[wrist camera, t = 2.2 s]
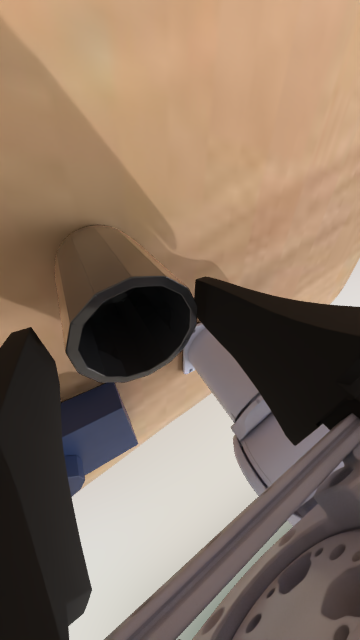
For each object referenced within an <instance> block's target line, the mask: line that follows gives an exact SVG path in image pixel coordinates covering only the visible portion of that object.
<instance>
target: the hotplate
mask: <svg viewBox="0 0 360 640" xmlns="http://www.w3.org/2000/svg"><path fill="white" fill-rule="evenodd" d="M61 422H62V441H63V451H64V457H65V463H66V470H67V476H68V481H69V487H70V492H71V497H72V496H73V495H74V494H75V493H77V492H78V491H79V490H80V489H81V487H82V485H83V483H84V481H85V475H86V474H88V473H90V472H91V471H93V470H95V469H97V468H98V467H100V466H102V465H103V464H105V463H107V462H109V461H110V460H112V459H114V458H115V457H117V456H119V455H120V454H122V453H124V452H126V451H127V450H129V449H131V448H132V447H134V446H136V445H137V444H138V442H137V439H136V436H135V433H134V430H133V428H132V425H131V422H130V419H129V417H128V414H127V412H126V410H125V407H124V405H123V402H122V400H121V397H120V395H119V393H118V390H117V388H116V385H115V383H105V384H103V385H101V386H98V387H96V388H94V389H92V390H89V391H87V392H85V393H82V394H80V395H78V396H76V397H73V398H71V399H69V400H66V401H64V402H62V403H61Z"/></svg>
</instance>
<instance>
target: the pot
mask: <svg viewBox="0 0 360 640" xmlns="http://www.w3.org/2000/svg"><path fill="white" fill-rule="evenodd" d="M54 275H55V282H56V289H57V296H58V303H59V310H60V317H61V324H62V331H63V338H64V345H65V352H66V354H67V356H68V358H69V359H70V361H71V363H72V364H73V366H74V367H75V369H76V371H77V372H78V373H79V374H81V375H84V376H86V377H88V378H91V379H93V380H95V381H98V382H101V383H114V382H128V381H131V380H135V379H138V378H141V377H144V376H147V375H150V374H152V373H153V372H155V371H157V370H158V369H160V368H161V367H163V366H165V365H166V364H168V363H169V362H171V361H172V360H173V359H174V358H175V357H176V356H177V355H178V354H179V353H180V352H181V350H182V349H183V348H184V347H185V346H186V345H187V343H188V341H189V339H190V337H191V335H192V333H193V332H194V330H195V328H196V322H197V309H198V307H197V304H196V302H195V300H194V298H193V296H192V294H191V292H190V290H189V288H188V287H187V286H186V285H185V284H184V283H182V282H181V281H180V280H179V279H178V278H177V277H176V276H175V275H173V274H172V273H171V272H170V271H169V270H168V269H167V268H166V267H164V266H163V265H162V264H161V263H160V262H159V261H158V260H157V259H155V258H154V257H153V256H152V255H151V254H150V253H149V252H148V251H147V250H145V249H144V248H143V247H142V246H141V245H140V244H139V243H138V242H136V241H135V240H134V239H133V238H131V237H129V236H128V235H127V234H125V233H124V232H122V231H120V230H118V229H116V228H113V227H110V226H105V225H91V226H86V227H83V228H80V229H78V230H76V231H74V232H72V233H71V234H70V235H68V236H67V237H66V238H65V239H64V240H63V242H62V243H61V244H60V246H59V248H58V250H57V253H56V256H55V272H54Z"/></svg>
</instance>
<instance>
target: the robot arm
mask: <svg viewBox="0 0 360 640" xmlns="http://www.w3.org/2000/svg"><path fill="white" fill-rule="evenodd" d="M194 300H195V302H196V304H197V307H198V309H197V317H198V319H199V320H200V321H201V323H199V324H196V328H195V330H194V332H193V333H192V335H191V337H190V339H189V341H188V343H187V345H186V346H185V347H184V348H183V373H184V374H188V373H190V372H192V371H194V370H196V371H197V372H198V374H199V375H200V377H201V378H202V379H203V381H204V382H205V383H206V385H207V386H208V388H209V389H210V390H211V392H212V393H213V394H214V396H215V397H216V398H217V400H218V401H219V402H220V404H221V405H222V406H223V408H224V409H225V411H226V412H227V413H228V415H229V416H230V417H231V419H232V420H233V422H234V424H233V425H232V426H231V429H232V431H233V432H234V433H235V436H234V438H233V444H234V452H235V456H236V459H237V461H238V464H239V466H240V468H241V470H242V472H243V474H244V475H245V477H246V479H247V481H248V482H249V484H250V485H251V486H252V488H253V489H254V491H255V492H256V493H257V494H258V496H259V497H258V498H257V499H255V500H254V501H253V502H252V503H251V504H250V505H249V506H248V507H247V508H246V509H245V510H244V511H243V512H241V513H240V514H239V515H238V516H237V517H236V518H235V519H234V520H233V521H232V522H231V523H230V524H229V525H227V526H226V527H225V528H224V529H223V530H222V531H221V532H220V533H219V534H218V535H217V536H215V537H214V538H213V539H212V540H211V541H210V542H209V543H208V544H207V545H206V546H205V547H204V548H203V549H201V550H200V551H199V552H198V553H197V554H196V555H195V556H194V557H193V558H192V559H191V560H190V561H189V562H188V563H186V564H185V565H184V566H183V567H182V568H181V569H180V570H179V571H178V572H177V573H175V574H174V575H173V576H172V577H171V578H170V579H169V580H168V581H167V582H166V583H165V584H164V585H163V586H162V587H161V588H159V589H158V590H157V591H156V592H155V593H154V594H153V595H152V596H151V597H150V598H149V599H147V600H146V601H145V602H144V603H143V604H142V605H141V606H140V607H139V608H138V609H137V610H135V611H134V613H132V614H131V615H130V616H129V617H128V618H127V619H126V620H125V621H124V622H122V623H121V625H119V626H118V627H117V628H116V629H115V630H114V631H113V632H112V633H111V634H110V635H108V636H107V637H106V638H105V639H104V640H176V638H177V637H178V636H179V635H180V634H181V633H182V632H183V631H184V630H185V629H186V628H187V627H188V626H189V625H190V624H191V623H192V621H193V620H194V619H195V618H196V617H197V616H198V615H199V614H200V613H201V612H202V610H204V609H205V607H206V606H207V605H208V604H209V603H210V602H211V601H212V600H213V599H214V598H215V597H216V595H218V593H219V592H220V591H221V590H222V589H223V588H224V587H225V586H226V585H227V584H228V583H229V582H230V581H231V580H232V579H233V577H234V576H235V575H236V574H237V573H238V572H239V571H240V570H241V569H242V568H243V567H244V566H245V565H246V564H247V563H248V561H249V560H250V559H251V558H252V557H253V556H254V555H255V554H256V553H257V552H258V551H259V549H260V548H261V547H263V545H264V544H265V543H266V542H267V541H268V540H269V539H270V538H271V537H272V536H273V535H274V534H275V533H276V532H277V530H278V529H279V528H280V527H281V526H282V525H283V524H284V523H285V522H286V521H289V523H290V524H292V526H293V527H292V528H291V529H290V530H289V531H288V532H287V533H286V534H285V535H284V536H283V537H282V538H280V539H279V540H278V541H277V542H276V543H275V544H274V545H273V546H272V547H271V548H270V549H269V550H268V551H267V552H266V553H265V554H264V555H263V556H262V557H261V558H260V559H259V560H258V561H257V562H256V563H255V564H254V565H253V566H252V567H251V568H250V569H249V570H248V571H247V572H246V573H245V575H244V576H243V577H242V578H241V579H240V580H239V581H238V583H237V584H236V585H235V586H234V587H233V588H232V590H231V591H230V592H229V593H228V595H227V596H226V597H225V598H224V599H223V601H222V602H221V603H220V604H219V606H218V607H217V608H216V610H215V611H214V612H213V613H212V615H211V616H210V617H209V619H208V620H207V621H206V622H205V624H204V625H203V626H202V627H201V629H200V630H199V631H198V633H197V634H196V635H195V637H194V638H193V639H192V640H360V307H352V306H338V305H327V304H318V303H311V302H303V301H297V300H292V299H287V298H281V297H277V296H272V295H268V294H265V293H261V292H257V291H254V290H250V289H247V288H243V287H240V286H237V285H234V284H231V283H227V282H224V281H221V280H217V279H214V278H210V277H203V278H199V279H196V282H195V297H194ZM91 591H92V588H91V584H90V580H89V576H88V572H87V568H86V563H85V559H84V555H83V551H82V546H81V542H80V537H79V532H78V528H77V523H76V518H75V513H74V508H73V503H72V498H71V492H70V487H69V481H68V476H67V470H66V463H65V457H64V451H63V441H62V422H61V401H60V383H59V378H58V373H57V368H56V364H55V361H54V359H53V358H52V356H51V355H50V353H49V352H48V351H47V349H46V348H45V346H44V345H43V343H42V342H41V341H40V339H39V338H38V336H37V335H36V333H35V332H34V331H33V329H32V328H31V327H30V328H27V329H23V330H20V331H16V332H13V333H11V334H10V335H9V337H8V338H7V339H6V341H5V342H4V344H3V345H2V346H1V348H0V640H69V631H68V626H69V625H70V624H71V623H73V622H74V621H75V620H76V619H77V618H79V617H80V616H81V615H82V614H83V613H84V611H85V609H86V606H87V603H88V600H89V598H90V594H91ZM178 640H180V639H178Z"/></svg>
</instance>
